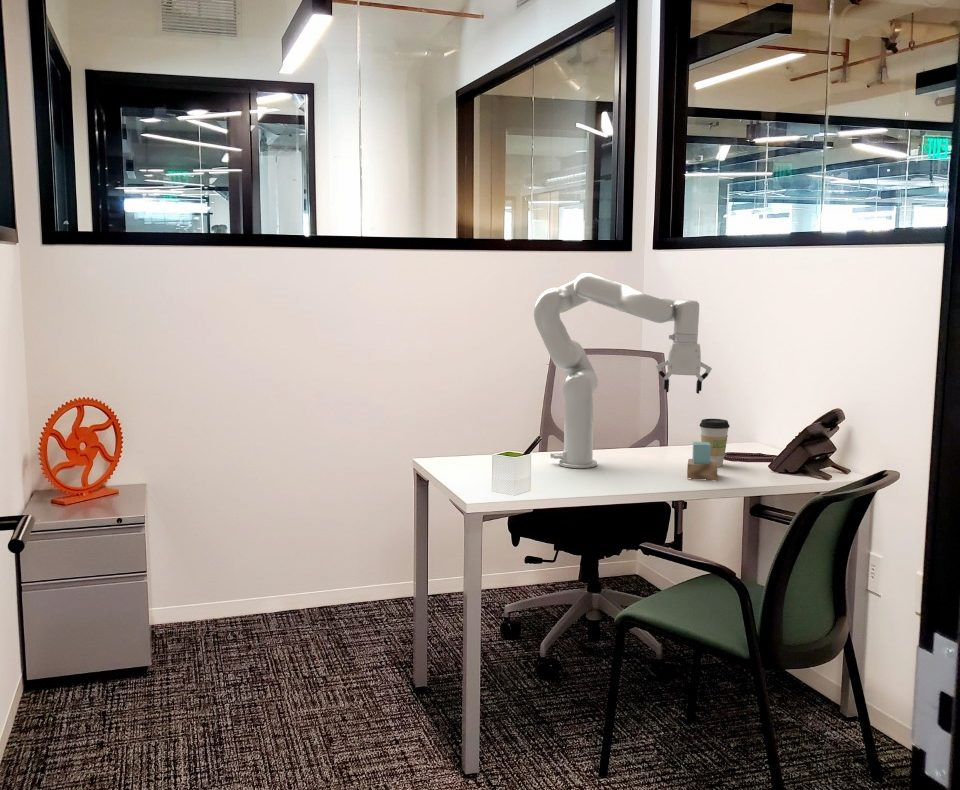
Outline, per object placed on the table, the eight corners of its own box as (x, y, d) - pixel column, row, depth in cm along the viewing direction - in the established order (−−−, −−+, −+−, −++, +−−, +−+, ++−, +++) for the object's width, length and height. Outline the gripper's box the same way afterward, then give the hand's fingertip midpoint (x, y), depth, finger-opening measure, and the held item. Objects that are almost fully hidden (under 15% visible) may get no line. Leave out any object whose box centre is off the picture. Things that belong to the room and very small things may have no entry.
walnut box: (687, 480, 288) (687, 464, 288) (688, 474, 297) (688, 458, 296) (716, 481, 286) (717, 465, 285) (717, 475, 295) (717, 460, 294)
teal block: (693, 463, 289) (694, 444, 288) (692, 460, 294) (692, 441, 293) (710, 464, 288) (710, 445, 287) (708, 460, 293) (709, 442, 292)
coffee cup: (729, 468, 304) (730, 423, 302) (698, 467, 306) (699, 422, 304) (727, 462, 314) (729, 418, 312) (697, 461, 316) (699, 417, 314)
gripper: (658, 339, 292) (655, 392, 294) (714, 341, 290) (711, 395, 292) (657, 337, 299) (654, 389, 302) (711, 339, 297) (708, 392, 299)
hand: (682, 392), depth 297 cm, fingers open, 9 cm apart
